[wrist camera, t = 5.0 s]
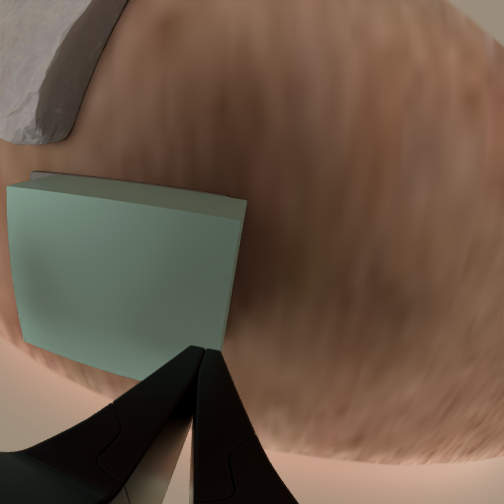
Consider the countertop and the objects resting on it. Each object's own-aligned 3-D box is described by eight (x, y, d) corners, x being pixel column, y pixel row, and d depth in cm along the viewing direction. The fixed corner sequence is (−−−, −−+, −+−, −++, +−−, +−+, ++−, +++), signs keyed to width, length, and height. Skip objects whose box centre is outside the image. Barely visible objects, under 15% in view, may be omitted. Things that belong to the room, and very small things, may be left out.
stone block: (-9, 117, 14) (80, 156, 13) (-66, 115, 9) (-2, 155, 8) (64, -42, 10) (184, -55, 9) (19, -67, 6) (141, -109, 5)
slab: (240, 220, 9) (6, 186, 9) (212, 397, 11) (24, 341, 11) (247, 200, 13) (57, 174, 12) (223, 345, 15) (61, 306, 15)
